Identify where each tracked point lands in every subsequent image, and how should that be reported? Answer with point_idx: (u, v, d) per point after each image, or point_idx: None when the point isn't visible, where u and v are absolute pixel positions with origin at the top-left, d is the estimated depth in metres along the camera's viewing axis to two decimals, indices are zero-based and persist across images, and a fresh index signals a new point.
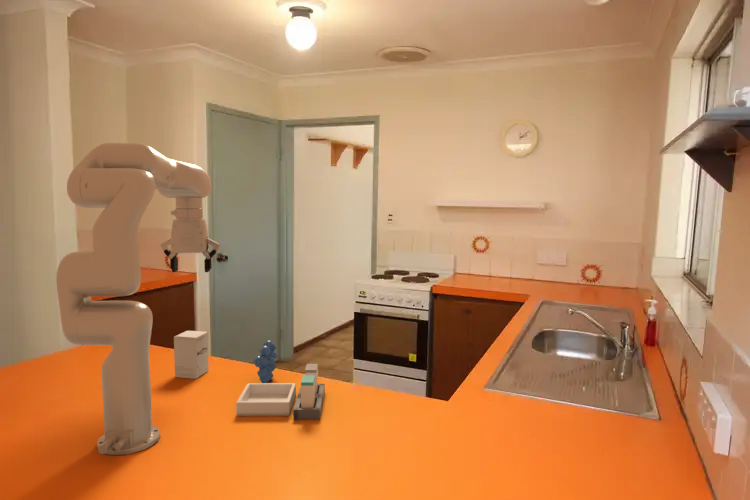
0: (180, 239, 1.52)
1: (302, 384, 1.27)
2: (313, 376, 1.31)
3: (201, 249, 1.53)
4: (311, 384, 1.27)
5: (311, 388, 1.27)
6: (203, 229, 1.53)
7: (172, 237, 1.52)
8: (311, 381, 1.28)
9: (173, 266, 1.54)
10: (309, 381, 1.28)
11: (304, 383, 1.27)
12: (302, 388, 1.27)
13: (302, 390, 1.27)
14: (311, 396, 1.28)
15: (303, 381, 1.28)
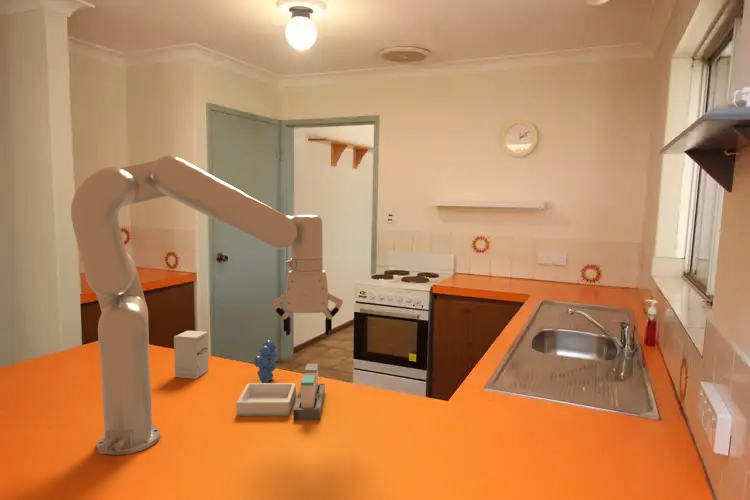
0: (298, 296, 1.25)
1: (302, 384, 1.27)
2: (313, 376, 1.31)
3: (323, 308, 1.25)
4: (311, 384, 1.27)
5: (311, 388, 1.27)
6: (325, 284, 1.25)
7: (288, 294, 1.25)
8: (311, 381, 1.28)
9: (287, 328, 1.27)
10: (309, 381, 1.28)
11: (304, 383, 1.27)
12: (302, 388, 1.27)
13: (302, 390, 1.27)
14: (311, 396, 1.28)
15: (303, 381, 1.28)
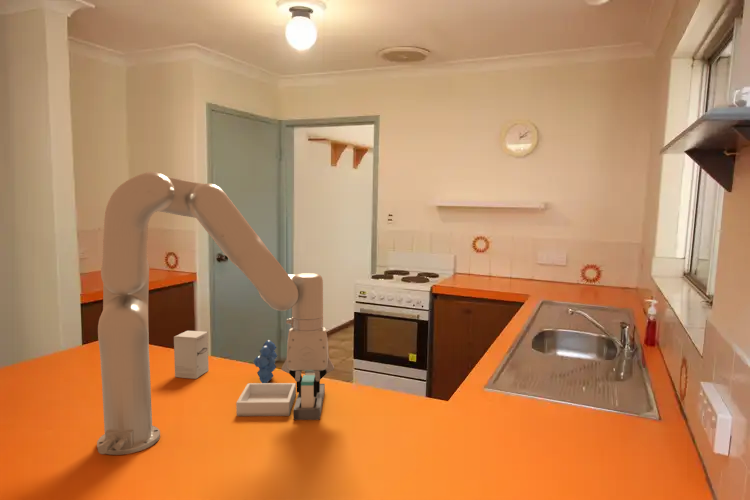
0: (298, 355, 1.26)
1: (302, 384, 1.27)
2: (313, 376, 1.31)
3: (323, 366, 1.27)
4: (311, 384, 1.27)
5: (311, 388, 1.27)
6: (325, 342, 1.27)
7: (289, 352, 1.26)
8: (311, 381, 1.28)
9: (300, 390, 1.28)
10: (309, 381, 1.28)
11: (304, 383, 1.27)
12: (302, 388, 1.27)
13: (302, 390, 1.27)
14: (311, 396, 1.28)
15: (303, 381, 1.28)
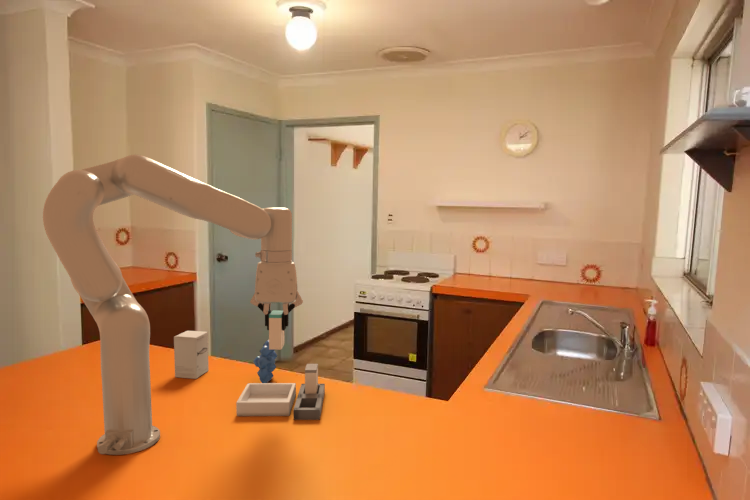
0: (266, 287, 1.27)
1: (270, 316, 1.28)
2: (282, 311, 1.33)
3: (291, 299, 1.28)
4: (279, 317, 1.28)
5: (279, 321, 1.29)
6: (293, 275, 1.28)
7: (257, 284, 1.27)
8: (279, 314, 1.29)
9: (268, 323, 1.30)
10: (277, 314, 1.29)
11: (272, 315, 1.28)
12: (270, 320, 1.28)
13: (270, 322, 1.29)
14: (279, 329, 1.29)
15: (271, 314, 1.29)
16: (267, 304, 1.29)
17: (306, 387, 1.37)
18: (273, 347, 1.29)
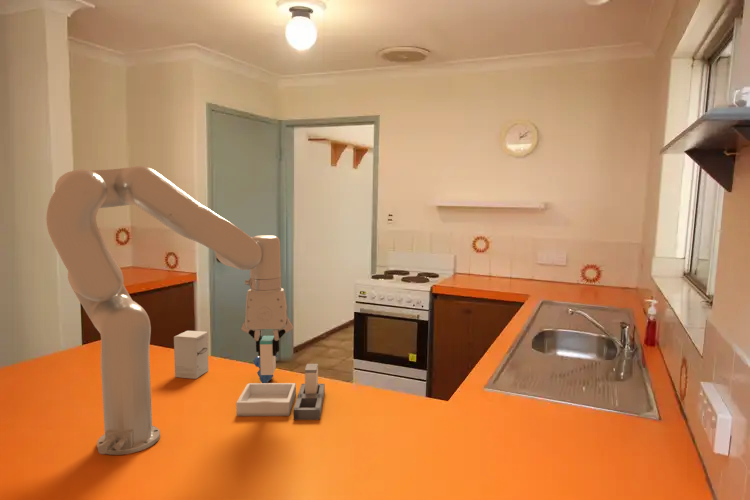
0: (257, 314, 1.29)
1: (261, 343, 1.31)
2: (273, 336, 1.35)
3: (281, 325, 1.30)
4: (270, 343, 1.31)
5: (270, 347, 1.31)
6: (283, 302, 1.30)
7: (247, 312, 1.29)
8: (270, 340, 1.31)
9: None
10: (268, 340, 1.31)
11: (263, 342, 1.31)
12: (261, 347, 1.31)
13: (261, 349, 1.31)
14: (270, 355, 1.31)
15: (262, 340, 1.31)
16: (258, 331, 1.31)
17: (306, 387, 1.37)
18: (265, 373, 1.31)
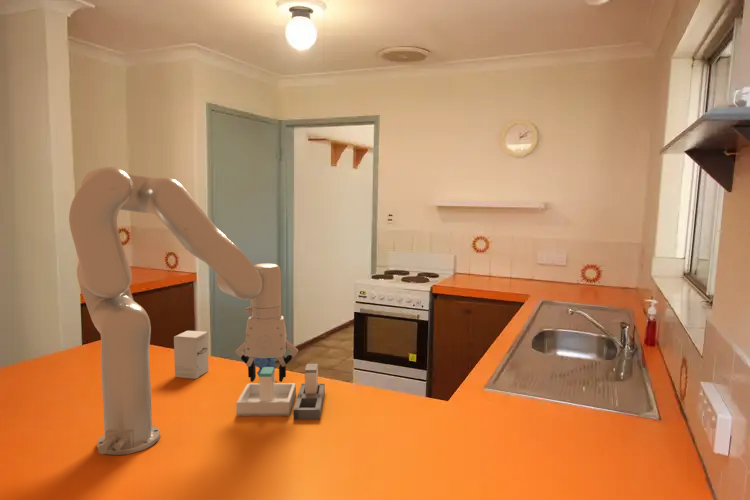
0: (256, 342, 1.30)
1: (260, 375, 1.31)
2: (272, 368, 1.35)
3: (281, 353, 1.31)
4: (269, 375, 1.31)
5: (269, 379, 1.31)
6: (283, 330, 1.31)
7: (247, 340, 1.30)
8: (269, 372, 1.32)
9: (252, 375, 1.32)
10: (267, 372, 1.32)
11: (262, 374, 1.31)
12: (261, 379, 1.31)
13: (261, 381, 1.31)
14: (269, 387, 1.32)
15: (262, 372, 1.32)
16: (253, 357, 1.32)
17: (306, 387, 1.37)
18: None
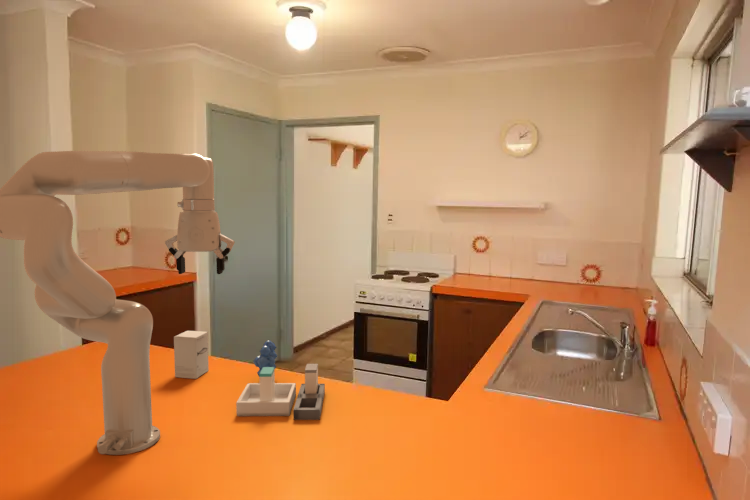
0: (188, 235, 1.29)
1: (260, 375, 1.31)
2: (272, 368, 1.35)
3: (213, 247, 1.30)
4: (269, 375, 1.31)
5: (269, 379, 1.31)
6: (215, 223, 1.30)
7: (179, 233, 1.29)
8: (269, 372, 1.32)
9: (180, 267, 1.31)
10: (267, 372, 1.32)
11: (262, 374, 1.31)
12: (261, 379, 1.31)
13: (261, 381, 1.31)
14: (269, 387, 1.32)
15: (262, 372, 1.32)
16: None
17: (306, 387, 1.37)
18: None
